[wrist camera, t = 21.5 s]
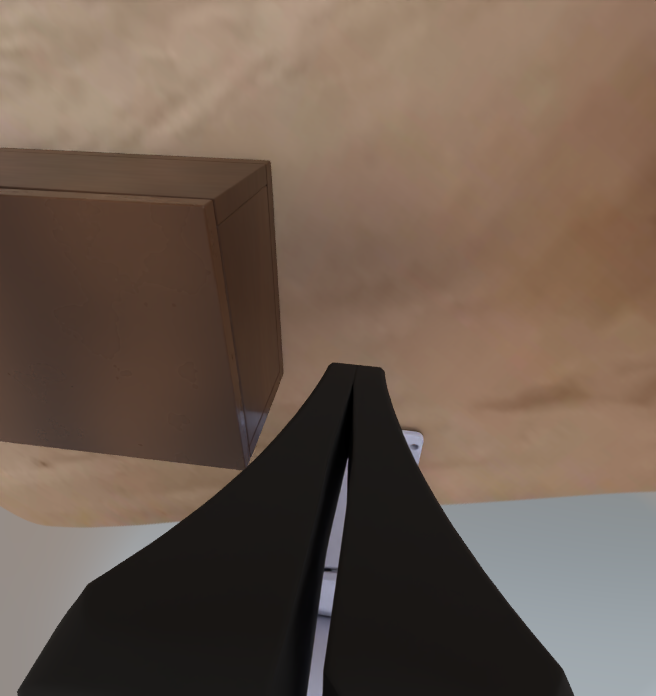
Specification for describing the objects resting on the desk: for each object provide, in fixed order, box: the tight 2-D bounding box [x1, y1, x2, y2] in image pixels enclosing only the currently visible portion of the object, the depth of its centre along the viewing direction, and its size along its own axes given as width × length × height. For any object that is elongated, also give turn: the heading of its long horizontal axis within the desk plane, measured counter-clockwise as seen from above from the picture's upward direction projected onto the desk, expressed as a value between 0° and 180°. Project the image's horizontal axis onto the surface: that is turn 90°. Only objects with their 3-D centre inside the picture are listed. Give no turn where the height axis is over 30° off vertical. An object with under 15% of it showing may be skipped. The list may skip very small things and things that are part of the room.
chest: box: [0, 148, 283, 457], centre depth 18 cm, size 15×12×6 cm
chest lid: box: [0, 188, 250, 470], centre depth 15 cm, size 15×12×1 cm
